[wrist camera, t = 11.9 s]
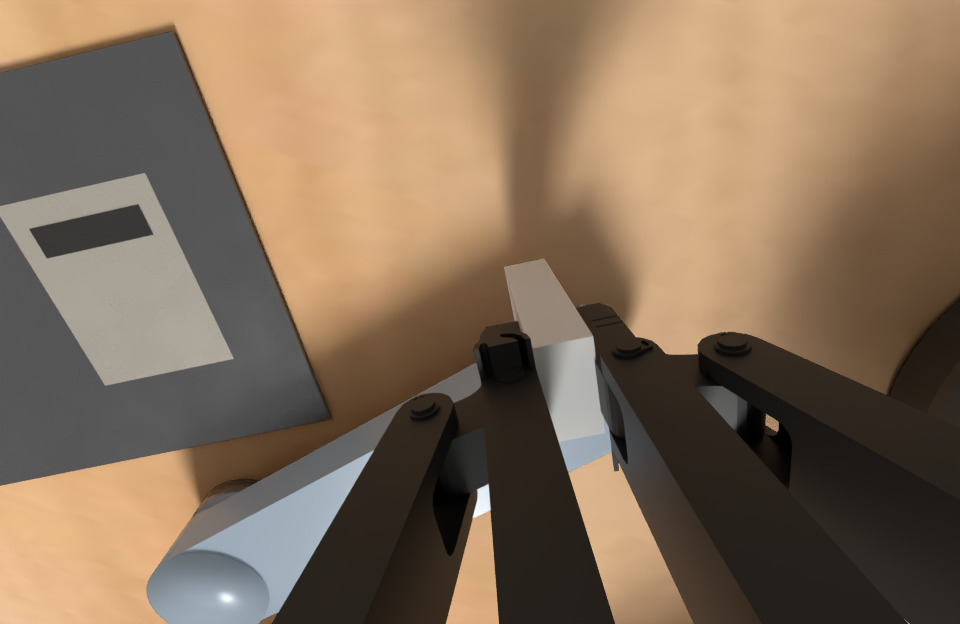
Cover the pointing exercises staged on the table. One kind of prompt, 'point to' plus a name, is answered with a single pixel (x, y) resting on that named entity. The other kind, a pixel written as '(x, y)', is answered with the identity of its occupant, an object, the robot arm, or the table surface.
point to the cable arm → (288, 525)
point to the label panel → (131, 272)
